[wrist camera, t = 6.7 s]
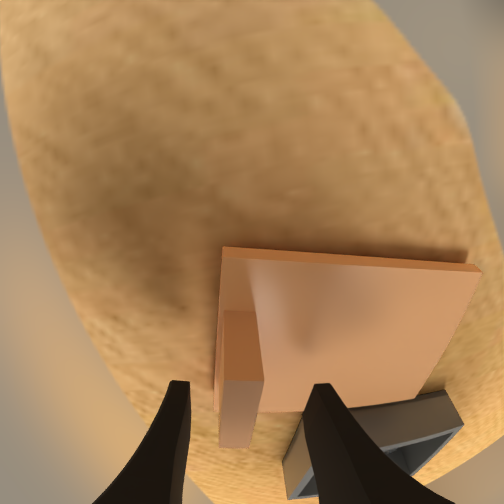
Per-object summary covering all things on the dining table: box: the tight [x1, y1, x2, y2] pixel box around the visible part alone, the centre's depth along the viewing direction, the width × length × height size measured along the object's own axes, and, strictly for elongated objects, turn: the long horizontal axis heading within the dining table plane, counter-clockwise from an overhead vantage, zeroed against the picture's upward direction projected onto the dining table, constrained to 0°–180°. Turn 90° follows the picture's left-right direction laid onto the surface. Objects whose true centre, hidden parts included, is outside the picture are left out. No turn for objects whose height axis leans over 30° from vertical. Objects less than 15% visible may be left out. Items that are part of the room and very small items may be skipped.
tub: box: [282, 390, 464, 500], centre depth 18 cm, size 8×11×4 cm
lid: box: [213, 246, 483, 448], centre depth 13 cm, size 9×12×5 cm
